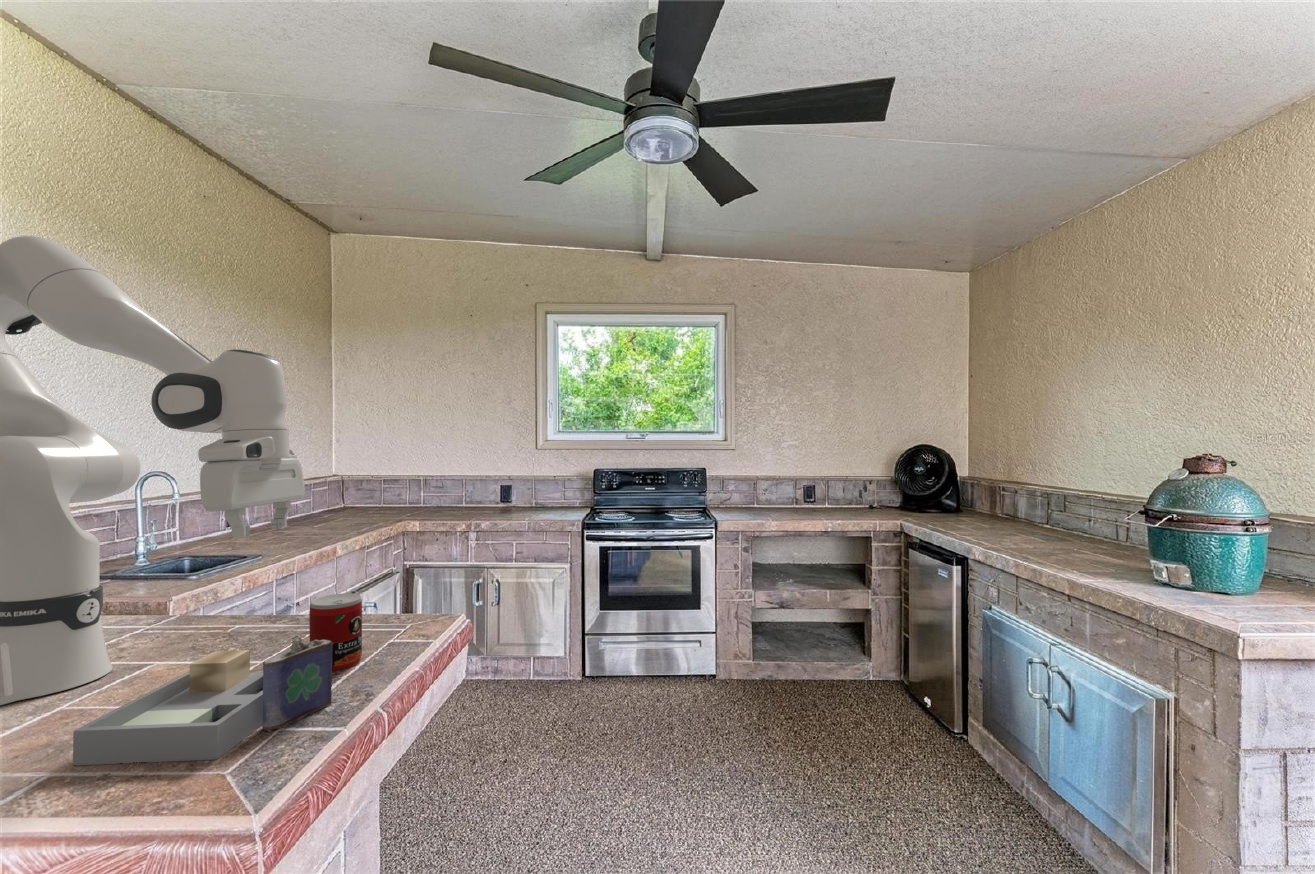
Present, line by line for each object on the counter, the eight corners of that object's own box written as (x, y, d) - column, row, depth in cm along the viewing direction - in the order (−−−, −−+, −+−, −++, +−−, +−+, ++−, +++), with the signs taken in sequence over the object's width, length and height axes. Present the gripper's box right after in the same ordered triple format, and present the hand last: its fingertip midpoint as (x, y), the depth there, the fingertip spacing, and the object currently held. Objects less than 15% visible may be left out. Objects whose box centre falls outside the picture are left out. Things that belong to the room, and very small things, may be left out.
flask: (270, 733, 71) (270, 649, 71) (255, 729, 72) (255, 646, 72) (336, 702, 79) (336, 628, 79) (322, 699, 80) (322, 625, 81)
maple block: (189, 692, 78) (189, 664, 79) (215, 677, 83) (215, 651, 84) (225, 691, 79) (226, 662, 79) (249, 676, 84) (249, 650, 84)
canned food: (339, 674, 89) (339, 606, 89) (297, 671, 91) (297, 604, 91) (372, 656, 97) (372, 594, 97) (333, 653, 98) (333, 592, 98)
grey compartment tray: (73, 765, 64) (73, 731, 64) (208, 687, 85) (208, 661, 85) (217, 759, 65) (217, 725, 65) (316, 683, 86) (316, 657, 86)
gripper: (276, 449, 100) (280, 525, 100) (188, 450, 80) (193, 545, 80) (312, 447, 101) (316, 523, 101) (234, 447, 80) (238, 542, 80)
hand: (261, 533), depth 90 cm, fingers open, 8 cm apart
